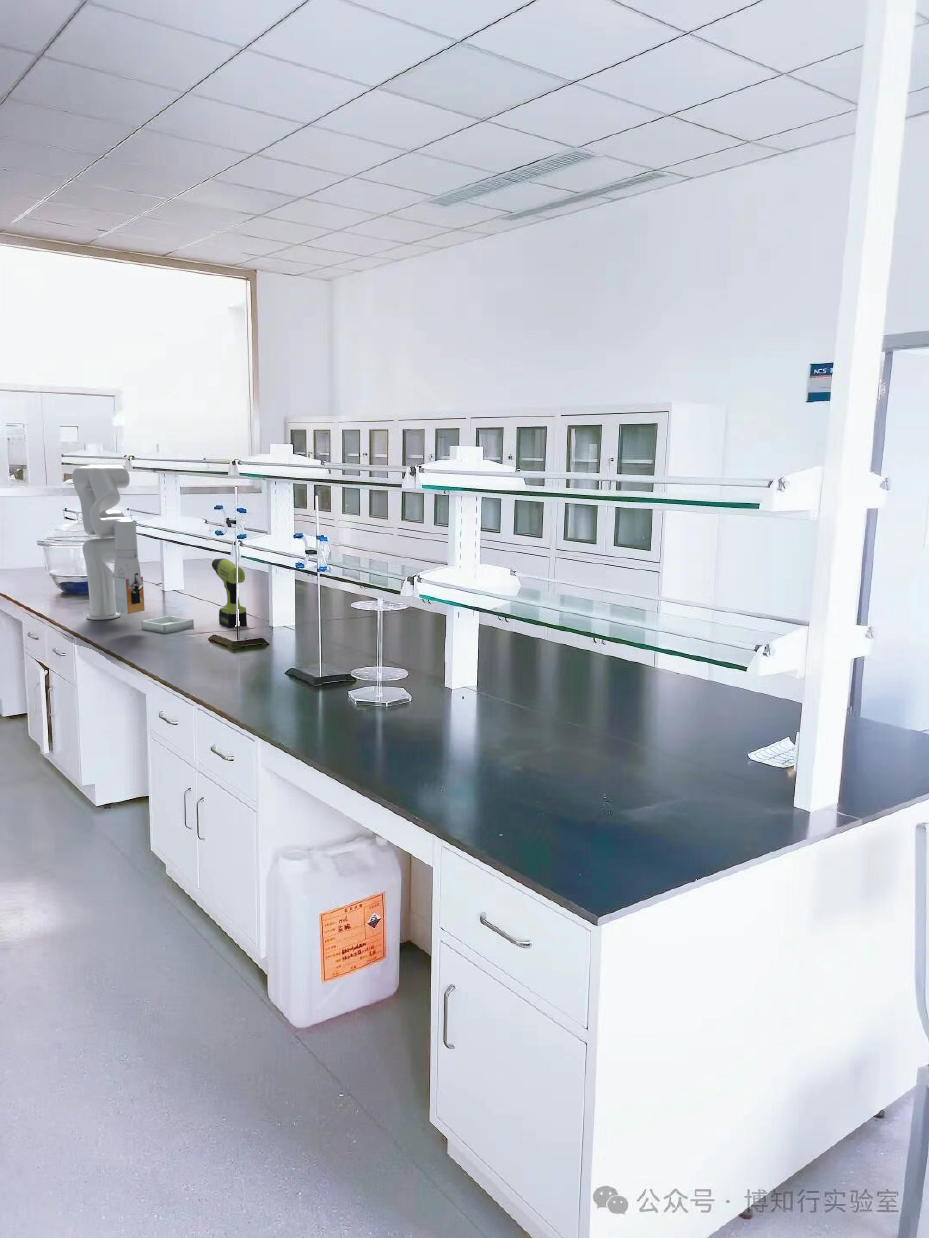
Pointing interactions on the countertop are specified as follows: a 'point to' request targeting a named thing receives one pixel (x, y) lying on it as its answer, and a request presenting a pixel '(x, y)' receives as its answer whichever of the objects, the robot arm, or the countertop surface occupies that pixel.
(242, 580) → the cordless drill
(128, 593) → the small box
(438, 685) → the countertop surface
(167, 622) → the tray
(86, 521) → the robot arm
